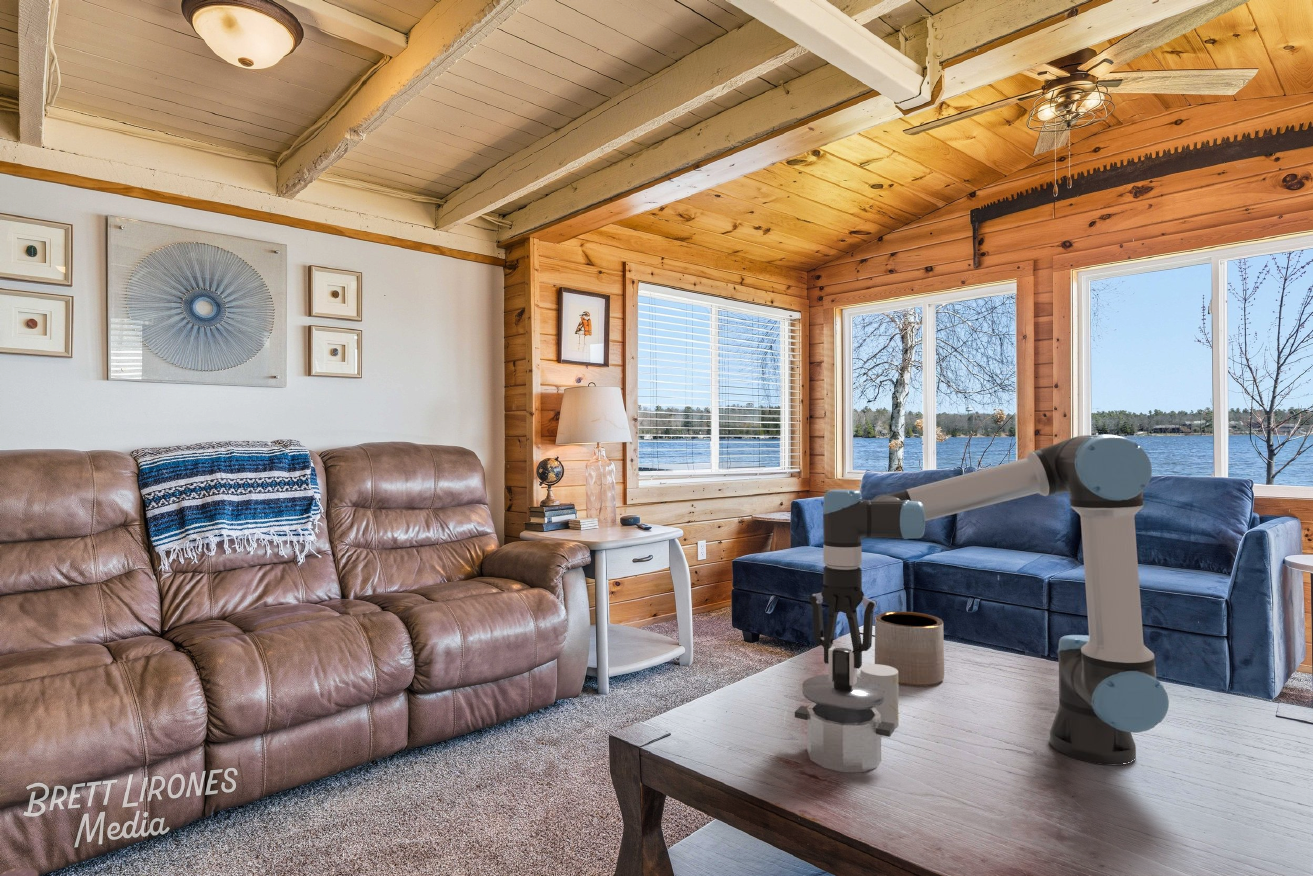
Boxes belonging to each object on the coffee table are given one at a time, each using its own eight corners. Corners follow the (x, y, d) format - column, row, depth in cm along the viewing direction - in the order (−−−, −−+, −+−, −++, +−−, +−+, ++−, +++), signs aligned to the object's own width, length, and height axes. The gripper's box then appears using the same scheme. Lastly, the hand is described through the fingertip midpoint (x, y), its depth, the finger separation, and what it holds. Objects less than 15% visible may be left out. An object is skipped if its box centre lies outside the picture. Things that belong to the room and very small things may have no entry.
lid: (892, 690, 147) (892, 646, 147) (872, 715, 133) (872, 667, 133) (817, 677, 155) (816, 635, 155) (791, 700, 141) (791, 654, 141)
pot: (900, 753, 145) (900, 709, 145) (883, 782, 133) (883, 733, 133) (809, 734, 155) (809, 692, 155) (786, 758, 143) (785, 714, 143)
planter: (861, 670, 198) (861, 613, 198) (915, 664, 203) (915, 609, 203) (901, 691, 181) (901, 629, 181) (959, 684, 186) (958, 624, 186)
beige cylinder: (900, 731, 156) (900, 676, 156) (862, 728, 158) (862, 674, 158) (896, 717, 164) (895, 665, 164) (859, 715, 166) (859, 663, 166)
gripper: (888, 566, 143) (889, 683, 143) (808, 559, 152) (809, 669, 152) (879, 572, 137) (880, 694, 136) (796, 565, 145) (797, 680, 145)
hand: (842, 681), depth 144 cm, fingers closed on lid, 4 cm apart
